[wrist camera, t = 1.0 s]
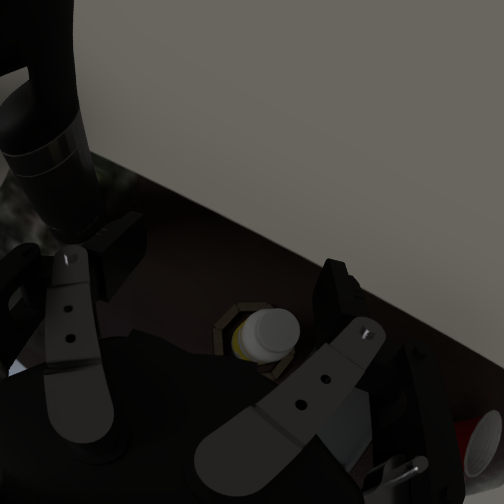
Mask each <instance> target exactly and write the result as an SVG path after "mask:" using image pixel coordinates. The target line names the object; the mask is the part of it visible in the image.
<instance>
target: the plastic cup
mask: <svg viewBox="0 0 504 504" xmlns="http://www.w3.org/2000/svg"><path fill="white" fill-rule="evenodd" d="M454 427H455V431H456V436H457V440H458V445H459V451H460V456H461V462H462V469H463V472H465V473H466V474H467V476H468V477H476V476H477V475H478V474H480V473H481V472H482V471H483V470H484V469H485V468H486V467H487V465H488V464H489V463H490V461H491V459H492V457H493V456H494V454H495V452H496V449H497V446H498V443H499V441H500V436H501V430H502V420H501V416H500V414H499V412H498V411H495V410H492V411H490V412H488V413H486V414H484V415H482V416H478V417H476V418H472V419H468V420H463V421H459V422H454Z"/></svg>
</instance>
